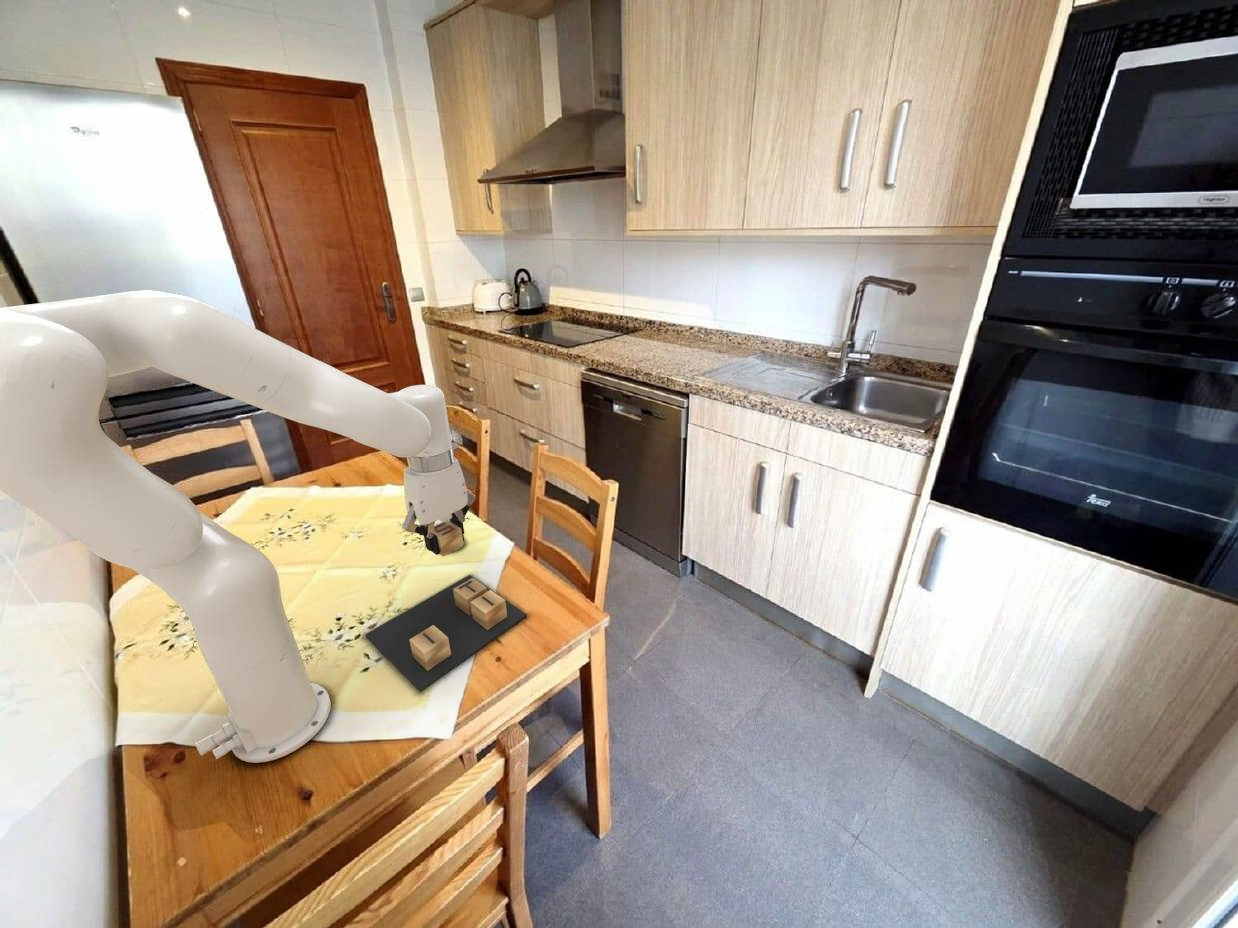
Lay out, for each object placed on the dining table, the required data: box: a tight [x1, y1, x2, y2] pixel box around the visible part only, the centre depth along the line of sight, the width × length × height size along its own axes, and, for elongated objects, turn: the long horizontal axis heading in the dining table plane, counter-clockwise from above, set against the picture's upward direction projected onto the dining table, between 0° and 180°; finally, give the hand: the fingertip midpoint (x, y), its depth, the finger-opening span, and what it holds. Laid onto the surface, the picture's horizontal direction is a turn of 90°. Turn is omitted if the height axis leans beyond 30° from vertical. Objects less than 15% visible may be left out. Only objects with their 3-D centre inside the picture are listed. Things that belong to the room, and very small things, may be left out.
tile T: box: [453, 577, 488, 616], centre depth 96 cm, size 4×4×4 cm
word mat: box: [365, 574, 528, 693], centre depth 92 cm, size 22×18×1 cm
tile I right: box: [470, 589, 507, 630], centre depth 93 cm, size 4×4×4 cm
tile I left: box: [409, 625, 451, 671], centre depth 84 cm, size 4×4×4 cm
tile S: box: [434, 520, 465, 558], centre depth 93 cm, size 4×4×4 cm
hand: (446, 544), depth 94 cm, fingers closed on tile S, 4 cm apart
